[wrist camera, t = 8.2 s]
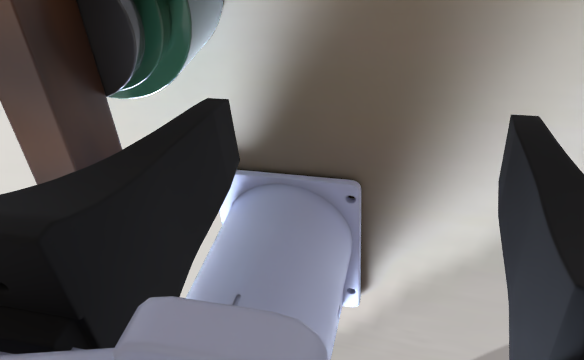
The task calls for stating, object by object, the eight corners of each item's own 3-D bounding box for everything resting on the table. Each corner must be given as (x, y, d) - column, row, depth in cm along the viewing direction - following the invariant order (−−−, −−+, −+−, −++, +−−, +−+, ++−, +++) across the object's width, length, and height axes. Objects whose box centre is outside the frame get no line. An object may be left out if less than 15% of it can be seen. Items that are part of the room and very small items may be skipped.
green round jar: (235, 64, 26) (186, 132, 21) (85, 58, 28) (10, 119, 23) (208, -128, 21) (137, -94, 16) (28, -121, 23) (-81, -88, 18)
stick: (134, 185, 24) (99, 232, 21) (93, 181, 24) (54, 227, 22) (13, -211, 15) (-67, -203, 13) (-47, -206, 16) (-133, -197, 14)
